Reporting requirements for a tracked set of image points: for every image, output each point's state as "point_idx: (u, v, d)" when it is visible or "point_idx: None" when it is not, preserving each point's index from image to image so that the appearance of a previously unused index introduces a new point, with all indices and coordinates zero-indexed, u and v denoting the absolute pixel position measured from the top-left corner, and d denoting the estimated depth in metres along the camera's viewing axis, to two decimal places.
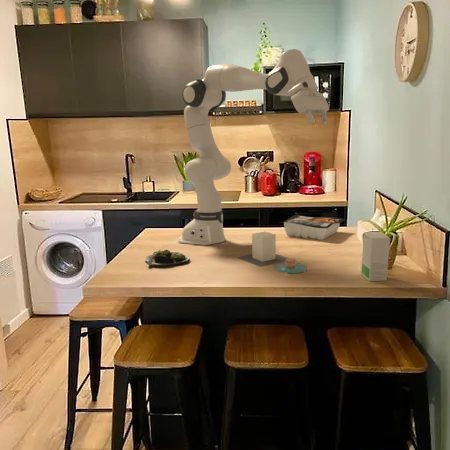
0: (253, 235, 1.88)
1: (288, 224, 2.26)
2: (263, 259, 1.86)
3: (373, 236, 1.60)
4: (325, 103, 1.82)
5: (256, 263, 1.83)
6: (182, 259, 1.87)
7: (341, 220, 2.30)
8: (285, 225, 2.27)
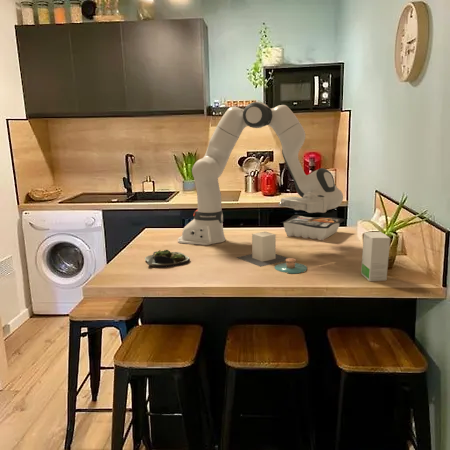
0: (253, 235, 1.88)
1: (288, 224, 2.26)
2: (263, 259, 1.86)
3: (373, 236, 1.60)
4: None
5: (256, 263, 1.83)
6: (182, 259, 1.87)
7: (341, 220, 2.30)
8: (285, 225, 2.27)
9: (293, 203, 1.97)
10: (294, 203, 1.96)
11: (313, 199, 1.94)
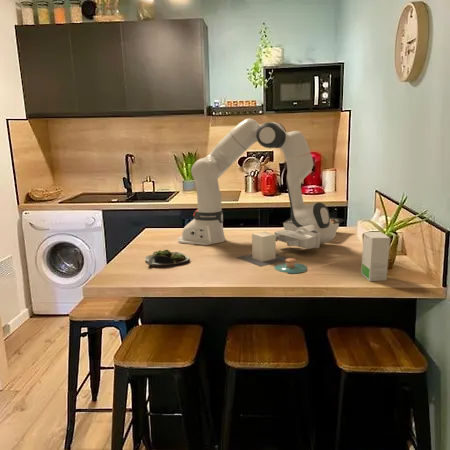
0: (253, 235, 1.88)
1: (288, 224, 2.25)
2: (263, 259, 1.86)
3: (373, 236, 1.60)
4: None
5: (256, 263, 1.83)
6: (182, 259, 1.87)
7: (340, 220, 2.30)
8: (285, 225, 2.27)
9: (286, 238, 1.98)
10: (287, 238, 1.98)
11: (306, 234, 1.95)
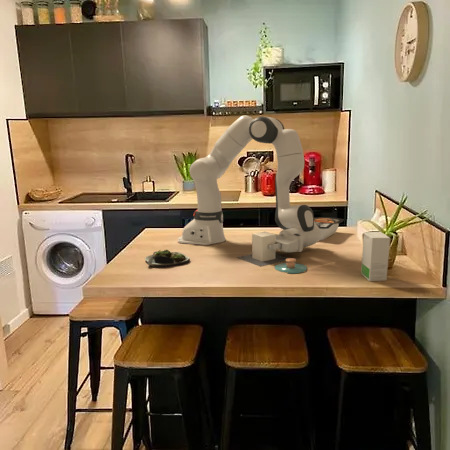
0: (253, 235, 1.88)
1: None
2: (263, 259, 1.86)
3: (373, 236, 1.60)
4: None
5: (256, 263, 1.83)
6: (182, 259, 1.87)
7: (340, 220, 2.30)
8: None
9: None
10: None
11: (289, 238, 1.90)
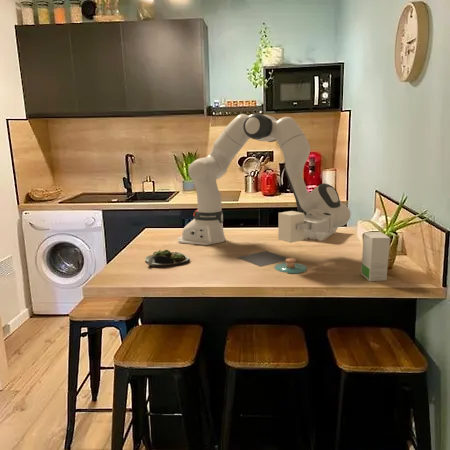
0: (280, 214, 1.73)
1: None
2: (291, 240, 1.70)
3: (373, 236, 1.60)
4: None
5: (256, 263, 1.83)
6: (182, 259, 1.87)
7: None
8: None
9: None
10: None
11: (318, 217, 1.75)
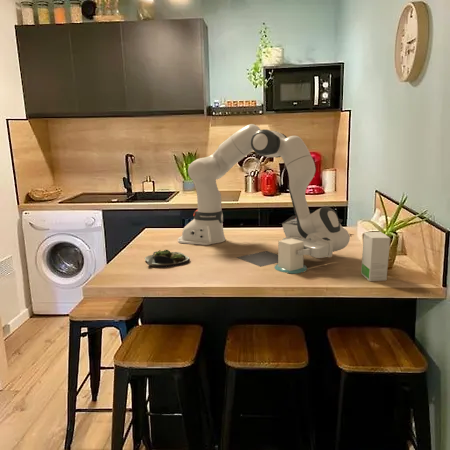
0: (279, 242, 1.75)
1: (287, 225, 2.23)
2: (290, 268, 1.73)
3: (373, 236, 1.60)
4: None
5: (256, 263, 1.83)
6: (182, 259, 1.87)
7: (339, 221, 2.29)
8: (284, 226, 2.25)
9: None
10: None
11: (318, 242, 1.77)
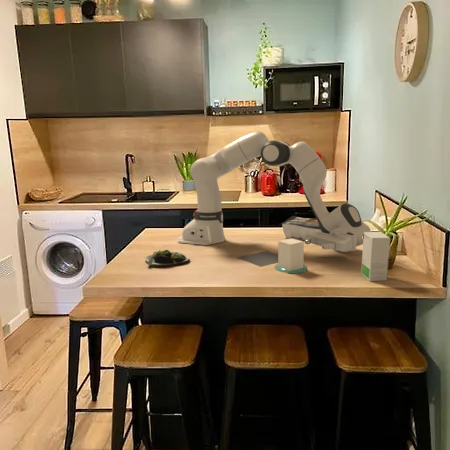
0: (279, 242, 1.75)
1: (287, 226, 2.23)
2: (290, 268, 1.73)
3: (373, 236, 1.60)
4: None
5: (256, 263, 1.83)
6: (182, 259, 1.87)
7: None
8: (284, 227, 2.24)
9: (320, 240, 1.87)
10: (321, 240, 1.86)
11: (342, 237, 1.84)
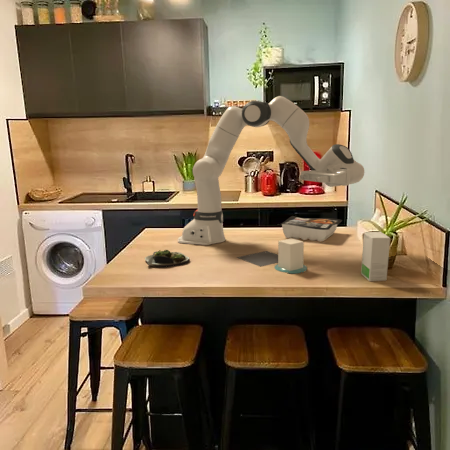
0: (279, 242, 1.75)
1: (287, 226, 2.22)
2: (290, 268, 1.73)
3: (373, 236, 1.60)
4: None
5: (256, 263, 1.83)
6: (182, 259, 1.87)
7: (339, 221, 2.28)
8: (283, 227, 2.23)
9: (314, 176, 1.90)
10: (315, 176, 1.90)
11: (335, 171, 1.87)
